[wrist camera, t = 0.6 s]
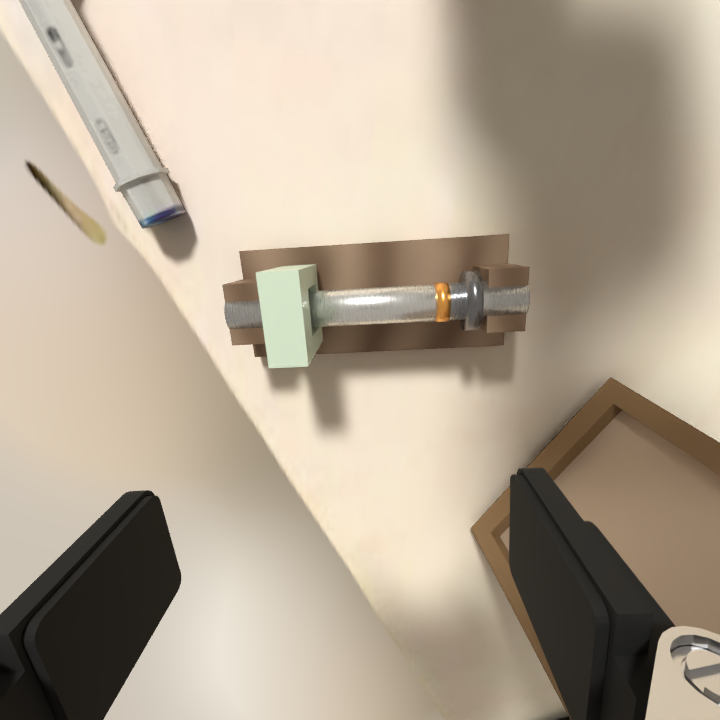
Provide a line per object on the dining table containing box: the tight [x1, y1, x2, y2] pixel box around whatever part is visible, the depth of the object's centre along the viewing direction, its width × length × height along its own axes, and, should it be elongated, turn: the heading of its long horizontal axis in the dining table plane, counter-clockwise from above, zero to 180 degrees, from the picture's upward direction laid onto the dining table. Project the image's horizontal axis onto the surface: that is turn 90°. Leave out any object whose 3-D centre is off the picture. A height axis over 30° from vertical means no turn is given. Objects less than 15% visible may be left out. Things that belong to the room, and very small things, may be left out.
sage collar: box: [256, 264, 323, 368], centre depth 31 cm, size 3×7×8 cm, turn 4°
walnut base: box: [223, 234, 529, 357], centre depth 33 cm, size 24×10×6 cm, turn 93°
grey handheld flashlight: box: [19, 0, 186, 229], centre depth 30 cm, size 5×7×25 cm
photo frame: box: [471, 378, 720, 719], centre depth 30 cm, size 15×22×25 cm
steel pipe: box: [225, 270, 530, 331], centre depth 31 cm, size 24×5×5 cm, turn 93°
